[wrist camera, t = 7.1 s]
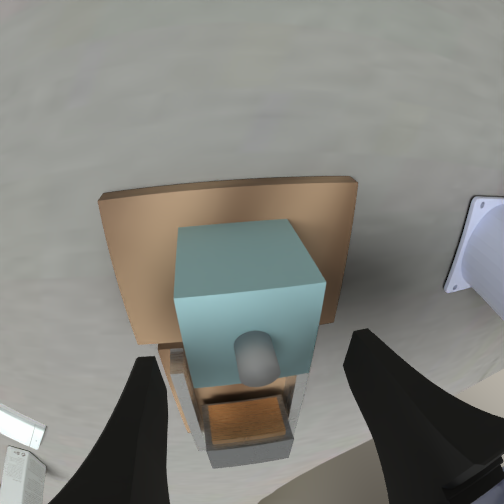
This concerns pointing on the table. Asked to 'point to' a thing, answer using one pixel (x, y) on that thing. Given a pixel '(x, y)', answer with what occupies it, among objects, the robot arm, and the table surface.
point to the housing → (246, 302)
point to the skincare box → (22, 478)
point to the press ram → (247, 431)
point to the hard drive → (20, 427)
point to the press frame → (207, 213)
